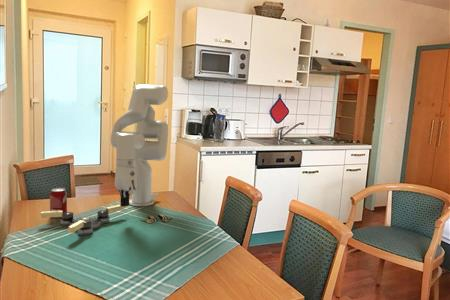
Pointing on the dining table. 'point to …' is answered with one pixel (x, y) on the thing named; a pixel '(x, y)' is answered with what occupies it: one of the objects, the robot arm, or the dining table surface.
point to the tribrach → (95, 223)
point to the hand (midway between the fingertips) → (124, 205)
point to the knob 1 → (80, 226)
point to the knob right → (57, 215)
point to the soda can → (58, 200)
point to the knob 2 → (109, 211)
